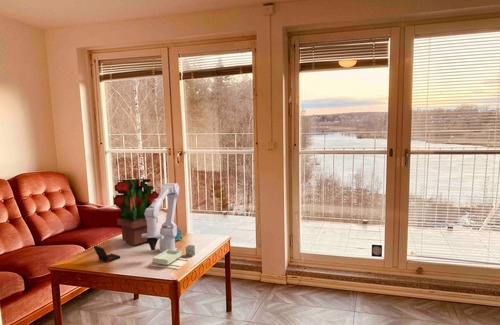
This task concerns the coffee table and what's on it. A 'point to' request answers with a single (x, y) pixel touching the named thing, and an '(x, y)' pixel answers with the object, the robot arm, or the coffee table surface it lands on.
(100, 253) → the handheld gaming console
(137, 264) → the coffee table surface
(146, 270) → the coffee table surface
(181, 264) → the rail board
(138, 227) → the potted plant
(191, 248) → the part block
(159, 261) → the mint green storage bin
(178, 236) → the gear
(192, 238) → the coffee table surface
